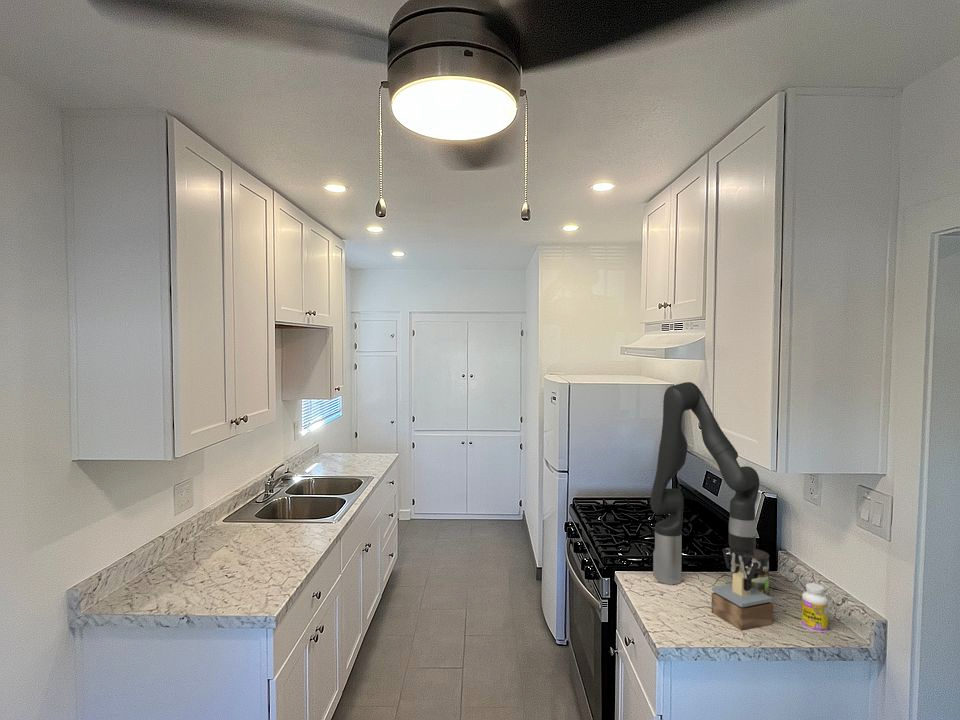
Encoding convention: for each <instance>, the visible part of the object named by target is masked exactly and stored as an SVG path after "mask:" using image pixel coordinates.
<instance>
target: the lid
mask: <svg viewBox="0 0 960 720" xmlns="http://www.w3.org/2000/svg"><path fill="white" fill-rule="evenodd" d="M743 587H744V575H743V572H739V573H733V582H732V583H730V584H729V583H728V584H724V585H718V586H714V587H711V592H712V593H714V592H715V593H717V594H719V595H720V596H722V597H724V598H726V599H728V600H729V601H731V602H733V603H735V604H736V605H738V606H740V607H747V606H752V605H757V604H762V603H767V602H770V603H773V602H774V601H773V600H774V597H771V596H769V595H766V594H764V593H762V592H760V591H758V590H756V589H754V588H751V589H750V590H749V591H745V590H744V589H743Z"/></svg>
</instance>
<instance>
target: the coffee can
mask: <svg viewBox="0 0 960 720" xmlns="http://www.w3.org/2000/svg"><path fill="white" fill-rule="evenodd" d="M754 556H755V559H756V560H757V561H758V562H762V563H763V565H762V568H761V570H760V573H759V576H758V578H756V579H752V584H751V585H752V588H754V589H756V590H758V591H760V592H762V593H764V594H766V595H768V596H769V594H770V591H769V590H770V554H769V553H768V552H767V551H764V550H761V549H757V548H755V550H754ZM746 567H748V566H746ZM746 567H745V568H746ZM739 572H743V571H742V570H741V567H740V571H739ZM747 574H748V571H747Z"/></svg>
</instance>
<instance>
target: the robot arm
mask: <svg viewBox="0 0 960 720" xmlns="http://www.w3.org/2000/svg"><path fill="white" fill-rule="evenodd" d="M662 402H663V405H662V406H663V408H662V426H661V435H660V436H661V437H660V443H659V447H658V449H659V450H658V454H657V455H658V457H657V464H656V471H655V475H654V476H655V478H654V481H653V483H652V484H653V485H652V489H651V493H650V494H651V495H650V509H651V511H652V512H653V513H654V514H656V515H668V516H667V517H666V518H664V519H662V520H660V521H658V522H656V523H655V525H654V550H653V554H652V556H653V557H652V558H653V559H652V560H653V561H652V562H653V563H652V569H653V570H652V572H653V573H652V575H653V577H654V579H655V580H656V581H657V582H660V583H662V584H666V585H677V584H680V583H682V553H683V552H682V551H683V550H682V548H683V547H682V534H683V533H682V530H683V523H684V522H683V519H684V518H683V515H684V496H683V493H682V491H681V490H680V489H679V488H667V487H668V484H669V483H670V481H671V480H672V479H673V478H674V477H675V476H676V475H677V474H679V472H680V470H681V469H682V468H683V466H684V465H685V464H686V459H687V454H688V449H689V447H688V440H687V438H686V436H685V434H684V433H683V430H682V420H683V419H682V418H683V414H684V412H685V411H689V410H691V411H692V412H693V414H694V415H695V416H696V418H697V419H698V422H699V426H700V429H701V436H702V442H703V444H704V446H705V448H706V450H707V451H708V452H709V454H710V455H711V456H712V458H713V459H714V460H715V462H716V464H717V466H718V469H719V471H720V475H721V476H722V479H723V481H724V482H725V484H726V485H727V487H729V489H731V490H733V491H734V492H735V493H734V496H733V497H732V498H731V499H730V501H729V520H728V545H729V547H726V548H722V553H723V554H722V555H723V557H724V561H725V565H726V569H729V570H730V572H731V581H732V582H731V583H733V573H739V571H740V567H741V570H742V571H743V575H744V587H743V589H744V590H745V591H749V590H750V589H751V588H752V585H751V584H752V579H756V578H758V576H759V573H760V570H761V568H762V565H763V563H762V562H758V561H757V560H756V559H755V556H754V550H755V549H757V548H756V545H757V544H756V543H757V541H756V540H757V538H756V537H757V532H756V531H757V526H756V503H757V502H756V501H757V498H758V495H759V494H758V492H759V490H760V489H759V488H760V476H759V474H758V472H757V470H755V468H754V467H751V466H747V465H745V466H741V465H740V463H739V462H738V460H737V459H738V457H739V453H738V451H737V449H736V448H735V447H734V445H733V444H732V442H731V441H730V439H729V438H728V437H727V435H726V434H725V432H724V431H723V430H722V429H721V427H720V425H719V423H718V421H717V420H716V418H715V416H714V414H713V412H712V410H711V408H710V406H709V404H708V402H707V400H706V398H705V396H704V394H703V392H702V391H701V389H700V388H699V387H698V386H697V385H696V384H695V383H693V382H692V381H691V382H690V381H688V382H687V381H686V382H681V383H677V384H674V385H671V386H669V387H667V388H666V389H665V392H664V395H663V401H662ZM746 566H748V567H746ZM745 567H746V568H745ZM747 571H748V574H747Z"/></svg>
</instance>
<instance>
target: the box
mask: <svg viewBox="0 0 960 720" xmlns="http://www.w3.org/2000/svg"><path fill="white" fill-rule="evenodd" d="M773 607H774V605H773V602H767V603H762V604H757V605H756V606H750V607H745V608H743V607H740V606H737V605H735V604H733V603H731V602H730V601H728V599H726V598H724V597H722V596H720V595H719V594H717V593H715V592H711V614H713V615H715V616H717V617H718V618H719V619H721V620H723V621H724V622H726V623H727V624H730V626H733V627H734V628H737V630H740V631H741V632H743V631H748V630H753V629H757V628H762V627H766V626H772V625H773V624H774V621H773V620H774V619H773V616H774V615H773V613H774V612H773V610H774V608H773Z"/></svg>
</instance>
